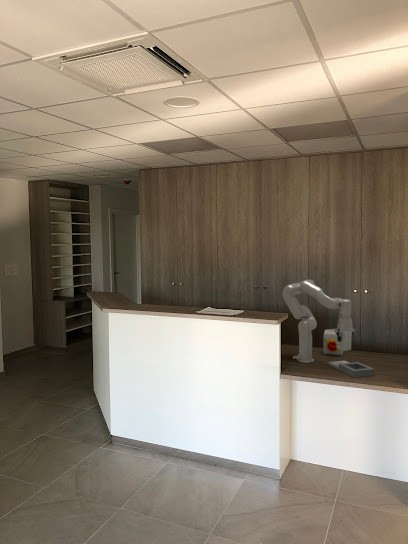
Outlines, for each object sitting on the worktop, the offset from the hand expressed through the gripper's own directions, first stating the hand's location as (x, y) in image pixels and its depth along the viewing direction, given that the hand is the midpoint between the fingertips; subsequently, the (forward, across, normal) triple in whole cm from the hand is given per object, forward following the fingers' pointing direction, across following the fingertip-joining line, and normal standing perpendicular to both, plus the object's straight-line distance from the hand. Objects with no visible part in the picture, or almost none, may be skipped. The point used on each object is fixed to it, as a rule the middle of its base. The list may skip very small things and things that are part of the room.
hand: (344, 340), depth 324 cm
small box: (+6, 0, 0) cm, 6 cm away
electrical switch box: (+20, +12, +33) cm, 41 cm away
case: (+19, +1, -7) cm, 20 cm away
